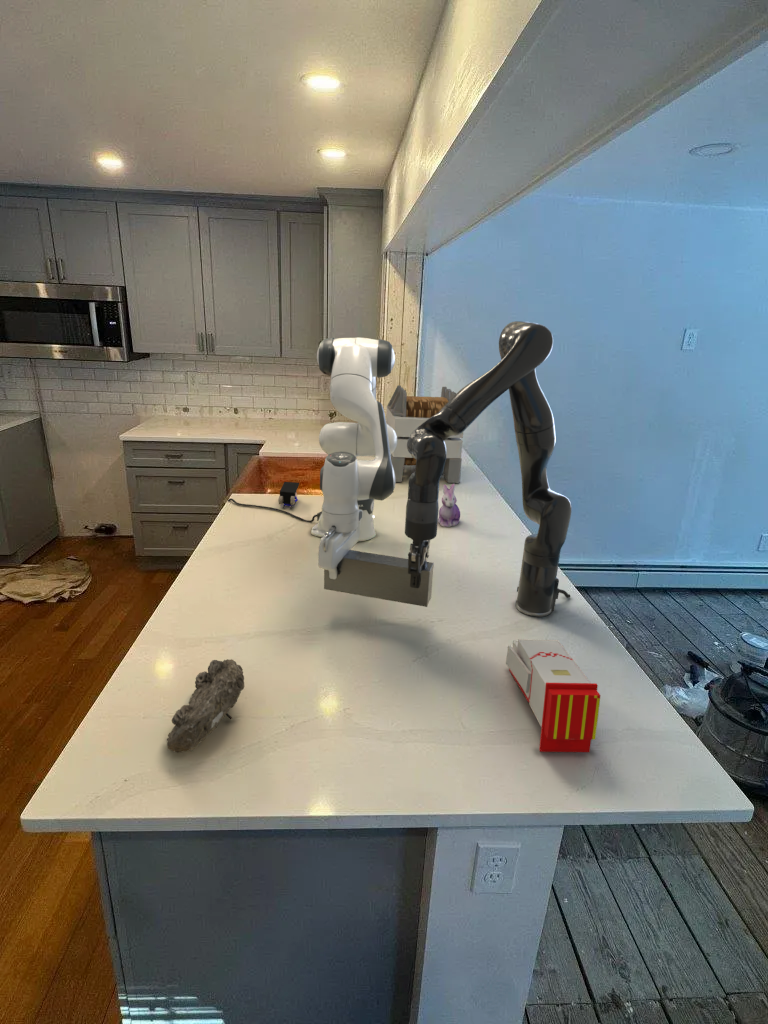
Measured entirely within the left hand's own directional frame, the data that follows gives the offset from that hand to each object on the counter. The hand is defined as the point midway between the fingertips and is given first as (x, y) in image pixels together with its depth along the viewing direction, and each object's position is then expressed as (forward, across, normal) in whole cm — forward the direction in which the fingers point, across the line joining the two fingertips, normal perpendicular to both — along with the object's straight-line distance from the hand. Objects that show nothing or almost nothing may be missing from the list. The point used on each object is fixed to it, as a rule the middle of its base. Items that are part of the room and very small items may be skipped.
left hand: (339, 571), depth 142 cm
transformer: (+12, +139, +10) cm, 140 cm away
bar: (+4, 0, -10) cm, 11 cm away
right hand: (-1, 0, -20) cm, 20 cm away
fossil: (+12, -45, +9) cm, 47 cm away
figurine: (+12, +76, -16) cm, 79 cm away
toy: (+12, -20, -52) cm, 57 cm away
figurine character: (+12, +72, +47) cm, 87 cm away
